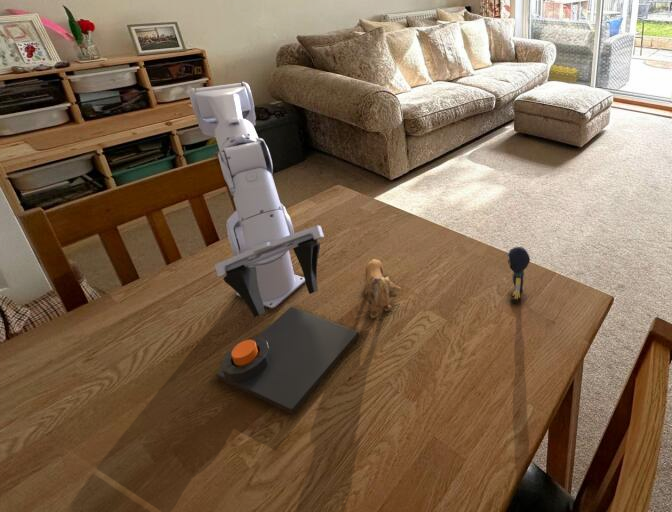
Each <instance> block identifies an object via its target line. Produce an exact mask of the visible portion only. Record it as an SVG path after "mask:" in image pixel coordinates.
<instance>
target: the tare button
mask: <svg viewBox="0 0 672 512" xmlns="http://www.w3.org/2000/svg"><path fill="white" fill-rule="evenodd" d="M234 346H235V347H234ZM234 346H233V347H234V348H233V347H232V348H233V350H232V352H231V355H232V358H233V361H234V364H235V365H237V366H244V365H247V364H249V363H251V362H252V361H253V360H254V359H255V358H256V357H257V355H258V349H257V346H256V343H255V341H253V340H248V339H245V340H243V341H241V342H239V343H237V344H236V345H234Z"/></svg>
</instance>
